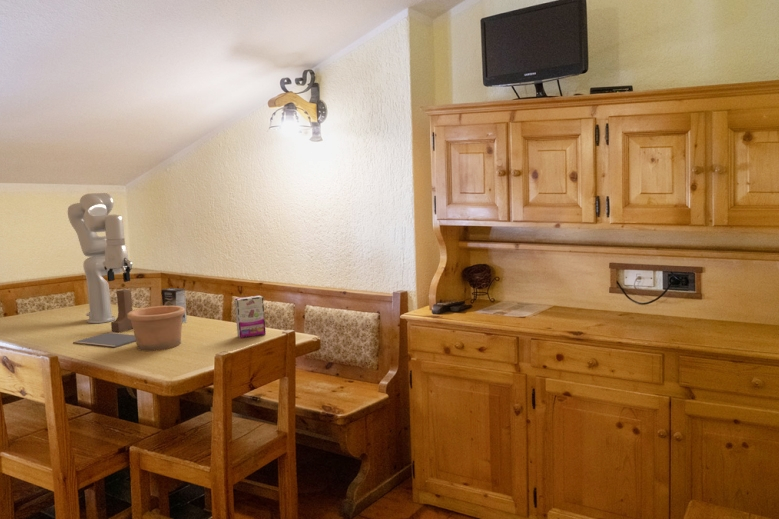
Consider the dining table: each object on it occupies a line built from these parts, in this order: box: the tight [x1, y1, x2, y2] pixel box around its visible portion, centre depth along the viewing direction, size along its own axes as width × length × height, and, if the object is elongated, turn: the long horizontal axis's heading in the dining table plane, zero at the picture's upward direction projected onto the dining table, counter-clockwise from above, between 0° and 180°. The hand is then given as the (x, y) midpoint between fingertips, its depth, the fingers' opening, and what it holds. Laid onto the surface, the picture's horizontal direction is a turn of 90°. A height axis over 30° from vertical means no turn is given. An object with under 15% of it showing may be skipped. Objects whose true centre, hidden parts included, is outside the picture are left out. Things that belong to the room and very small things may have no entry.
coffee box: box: [161, 287, 188, 324], centre depth 301 cm, size 9×6×16 cm
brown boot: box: [110, 288, 133, 333], centre depth 288 cm, size 9×4×18 cm, turn 155°
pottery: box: [127, 305, 185, 352], centre depth 258 cm, size 22×22×14 cm
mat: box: [72, 331, 136, 349], centre depth 270 cm, size 24×18×1 cm
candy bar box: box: [234, 295, 266, 339], centre depth 270 cm, size 11×5×16 cm, turn 117°
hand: (119, 281), depth 287 cm, fingers open, 9 cm apart
